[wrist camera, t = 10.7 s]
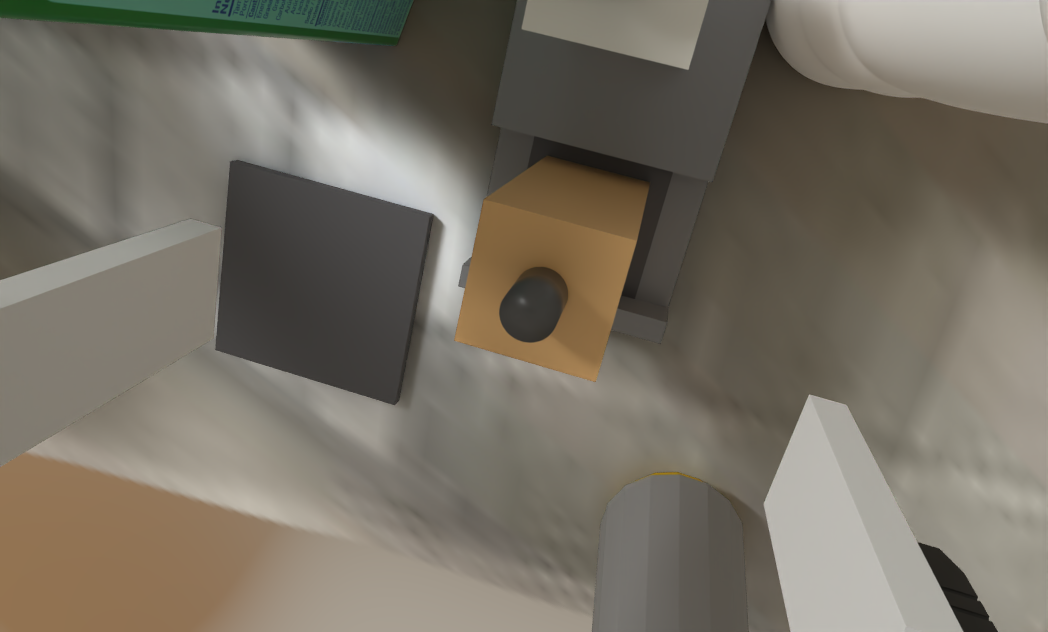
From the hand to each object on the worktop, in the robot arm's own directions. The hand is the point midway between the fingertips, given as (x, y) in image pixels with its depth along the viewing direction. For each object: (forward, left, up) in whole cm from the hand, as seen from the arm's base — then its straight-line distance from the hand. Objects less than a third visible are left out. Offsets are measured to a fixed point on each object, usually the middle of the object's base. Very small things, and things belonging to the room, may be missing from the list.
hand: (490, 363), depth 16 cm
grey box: (0, +6, -18) cm, 19 cm away
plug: (0, 0, -17) cm, 17 cm away
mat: (-12, -7, -18) cm, 23 cm away
